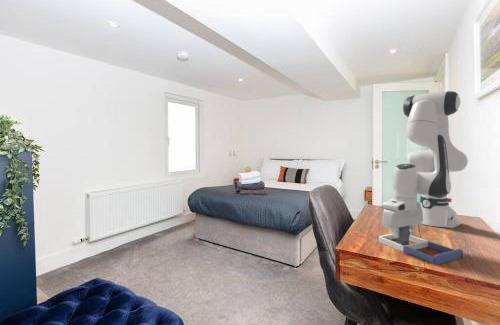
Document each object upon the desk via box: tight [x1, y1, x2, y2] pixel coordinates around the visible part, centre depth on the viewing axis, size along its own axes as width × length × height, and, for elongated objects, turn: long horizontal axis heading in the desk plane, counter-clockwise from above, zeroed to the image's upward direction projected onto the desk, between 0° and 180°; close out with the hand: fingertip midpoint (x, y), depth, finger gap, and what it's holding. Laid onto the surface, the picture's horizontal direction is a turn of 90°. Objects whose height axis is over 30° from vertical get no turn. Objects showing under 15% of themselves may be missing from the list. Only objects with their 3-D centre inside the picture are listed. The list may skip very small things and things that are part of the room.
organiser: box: [376, 233, 464, 265], centre depth 101 cm, size 15×24×3 cm, turn 23°
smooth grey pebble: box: [395, 226, 410, 246], centre depth 106 cm, size 4×4×8 cm
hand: (402, 236), depth 106 cm, fingers open, 6 cm apart
